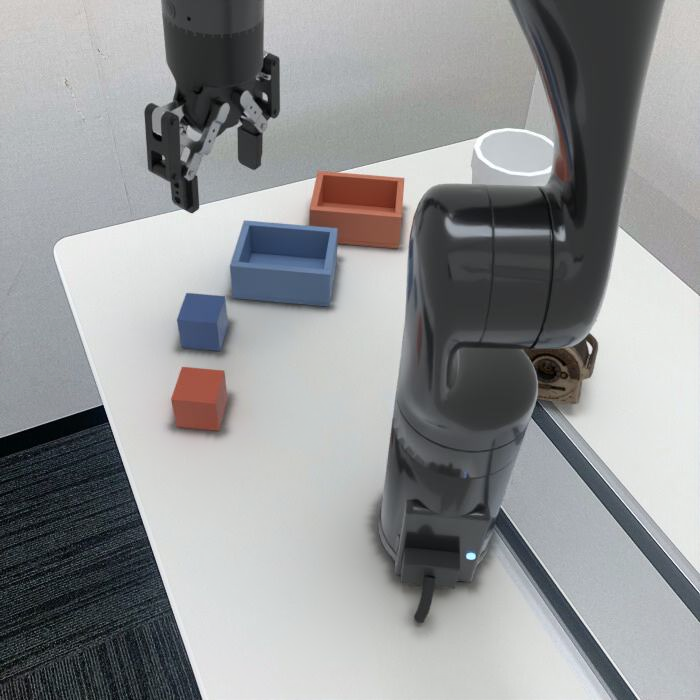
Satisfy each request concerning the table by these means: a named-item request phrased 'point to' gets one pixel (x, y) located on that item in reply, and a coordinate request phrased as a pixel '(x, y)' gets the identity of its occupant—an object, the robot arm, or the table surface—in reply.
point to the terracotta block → (199, 398)
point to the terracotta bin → (359, 207)
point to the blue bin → (284, 263)
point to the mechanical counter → (563, 370)
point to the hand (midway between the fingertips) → (219, 185)
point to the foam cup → (512, 158)
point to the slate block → (202, 321)
